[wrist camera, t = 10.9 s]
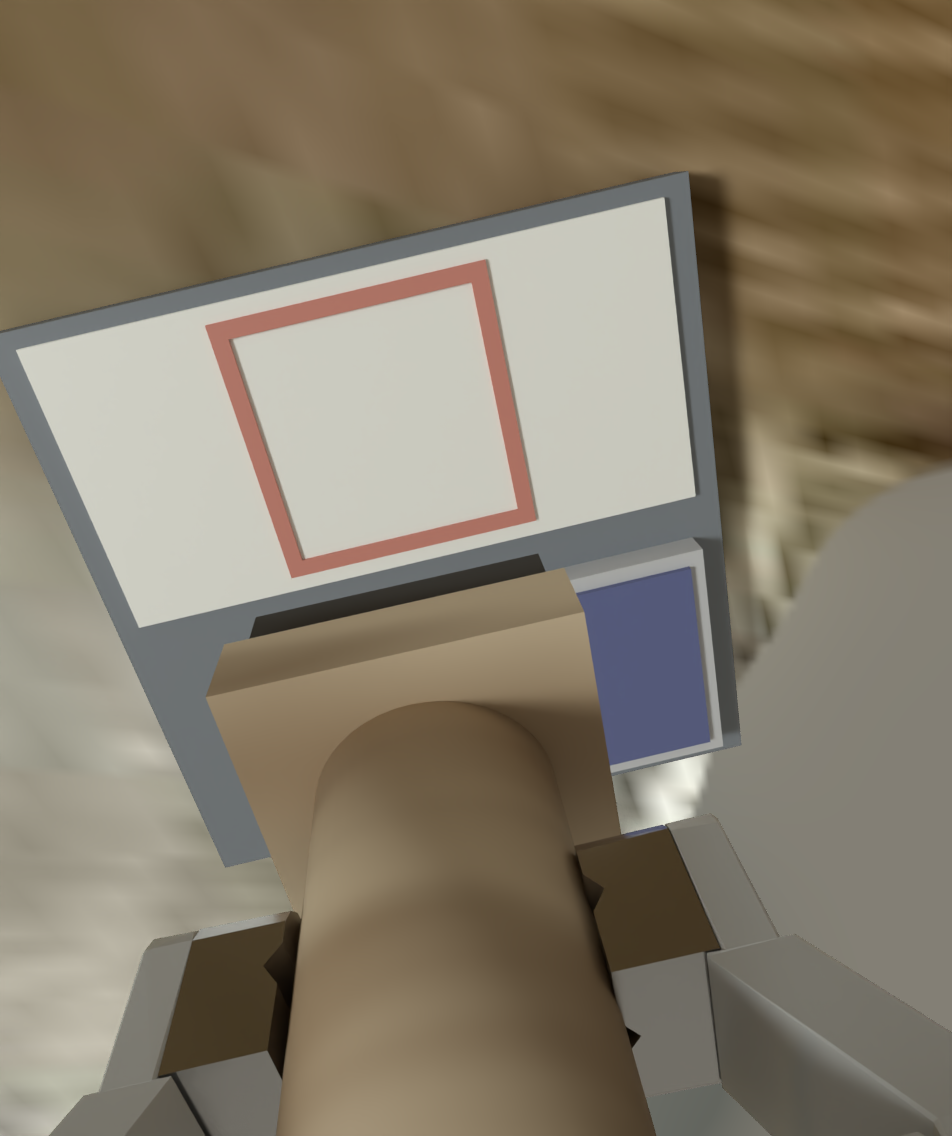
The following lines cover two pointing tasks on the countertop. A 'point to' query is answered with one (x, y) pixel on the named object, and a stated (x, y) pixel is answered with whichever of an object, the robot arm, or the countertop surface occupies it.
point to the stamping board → (403, 456)
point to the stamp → (437, 856)
